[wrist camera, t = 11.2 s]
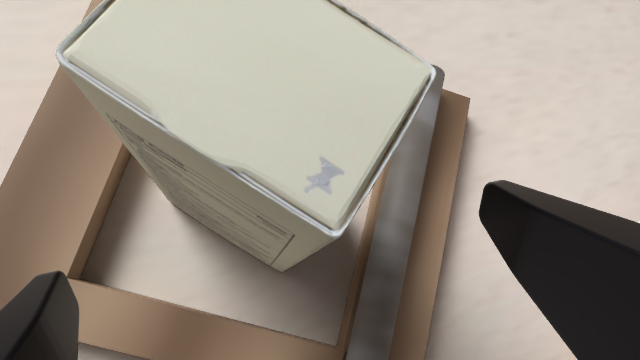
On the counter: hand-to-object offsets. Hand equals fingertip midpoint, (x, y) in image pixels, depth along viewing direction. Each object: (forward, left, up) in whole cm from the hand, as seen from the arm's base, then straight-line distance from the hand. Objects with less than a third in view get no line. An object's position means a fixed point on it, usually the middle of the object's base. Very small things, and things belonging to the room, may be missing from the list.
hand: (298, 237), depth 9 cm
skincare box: (+2, -3, -11) cm, 11 cm away
